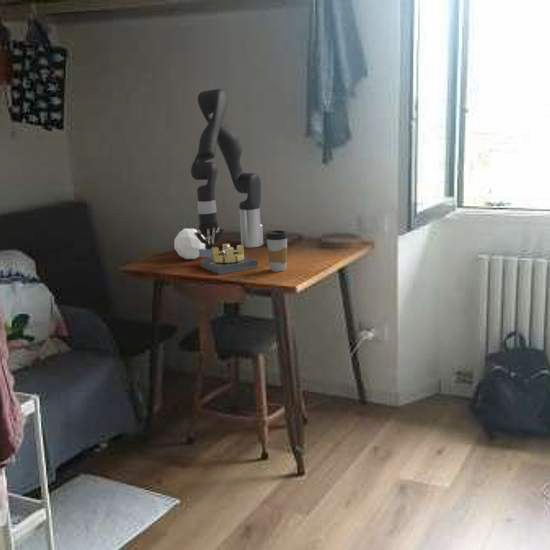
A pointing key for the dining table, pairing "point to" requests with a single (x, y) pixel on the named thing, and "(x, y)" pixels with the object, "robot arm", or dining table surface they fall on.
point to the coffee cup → (277, 250)
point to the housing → (228, 264)
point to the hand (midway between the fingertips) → (210, 252)
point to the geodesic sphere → (188, 244)
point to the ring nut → (218, 255)
